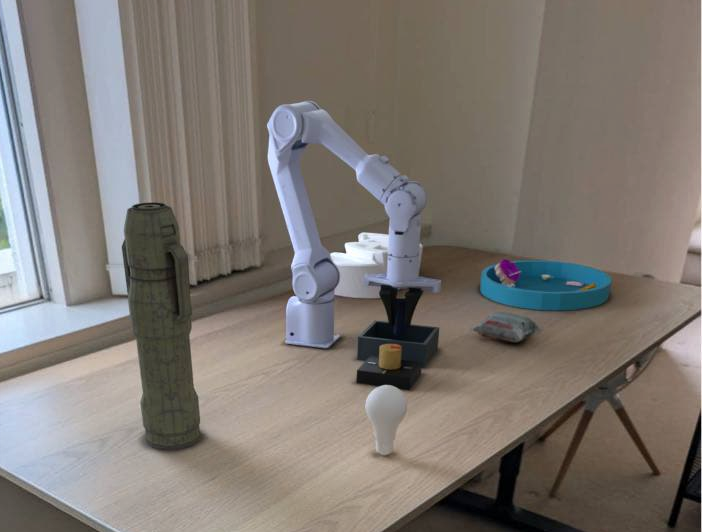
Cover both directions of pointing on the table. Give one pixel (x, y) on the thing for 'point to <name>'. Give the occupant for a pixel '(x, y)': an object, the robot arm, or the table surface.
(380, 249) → the wavy white extrusion
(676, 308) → the table surface
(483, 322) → the packaged food
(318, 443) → the table surface
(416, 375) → the block
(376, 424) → the lightbulb
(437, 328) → the dark teal open box
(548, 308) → the round blue tray
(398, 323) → the eraser
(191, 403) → the thermos
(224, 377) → the table surface
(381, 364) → the tap knob
